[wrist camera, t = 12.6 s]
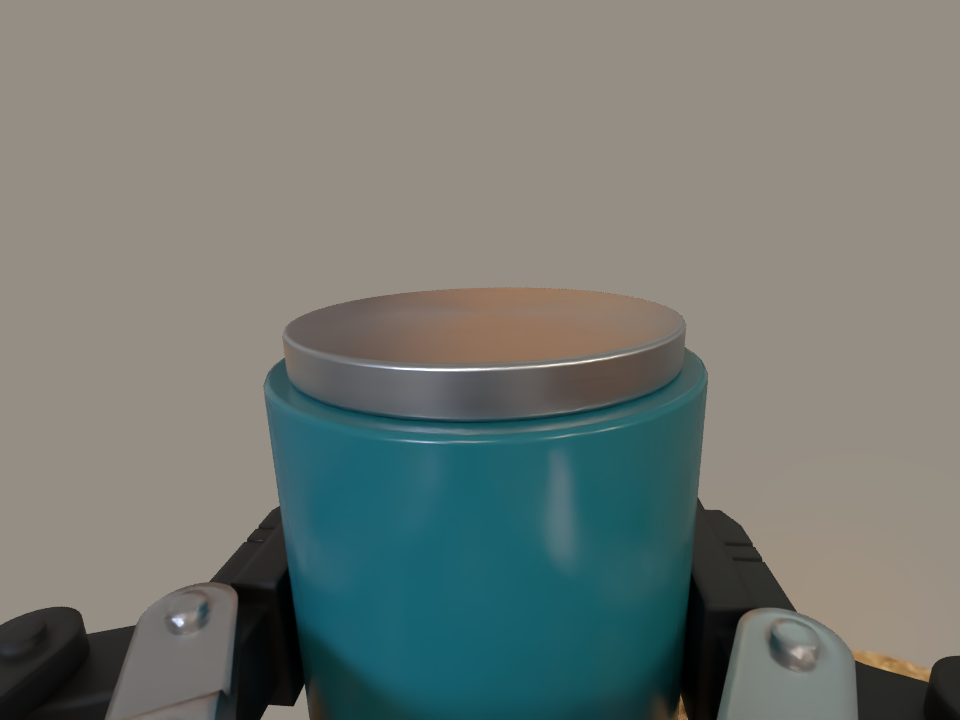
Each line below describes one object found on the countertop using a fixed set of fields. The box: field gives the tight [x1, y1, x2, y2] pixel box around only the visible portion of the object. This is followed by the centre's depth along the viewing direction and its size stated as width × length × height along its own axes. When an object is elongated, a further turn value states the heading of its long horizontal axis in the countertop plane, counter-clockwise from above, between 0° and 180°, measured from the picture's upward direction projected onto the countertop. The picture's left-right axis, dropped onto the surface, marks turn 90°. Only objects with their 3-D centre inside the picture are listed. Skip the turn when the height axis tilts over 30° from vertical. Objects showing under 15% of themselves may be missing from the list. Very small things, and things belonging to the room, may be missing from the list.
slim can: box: [264, 288, 708, 720], centre depth 9 cm, size 6×6×12 cm
